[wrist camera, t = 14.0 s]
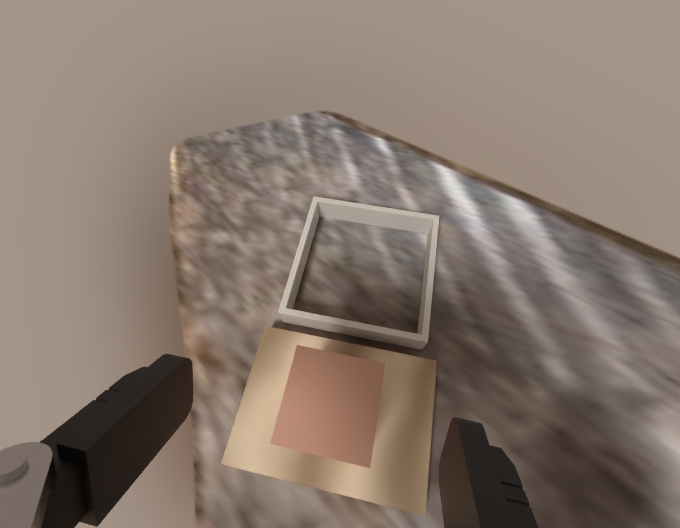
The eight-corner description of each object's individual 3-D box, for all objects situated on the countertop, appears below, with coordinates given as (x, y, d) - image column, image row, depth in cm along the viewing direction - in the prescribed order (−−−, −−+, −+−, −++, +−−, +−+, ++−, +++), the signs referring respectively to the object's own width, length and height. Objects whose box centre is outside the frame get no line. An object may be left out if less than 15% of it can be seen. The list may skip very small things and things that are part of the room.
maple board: (432, 364, 27) (437, 360, 26) (420, 511, 23) (425, 516, 22) (268, 331, 29) (265, 325, 28) (227, 462, 25) (220, 464, 23)
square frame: (433, 230, 33) (439, 215, 31) (421, 349, 28) (427, 342, 26) (315, 211, 35) (313, 196, 32) (283, 322, 29) (277, 312, 27)
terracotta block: (375, 384, 25) (385, 363, 18) (363, 459, 23) (369, 468, 16) (310, 370, 26) (296, 344, 19) (293, 441, 24) (270, 443, 17)
